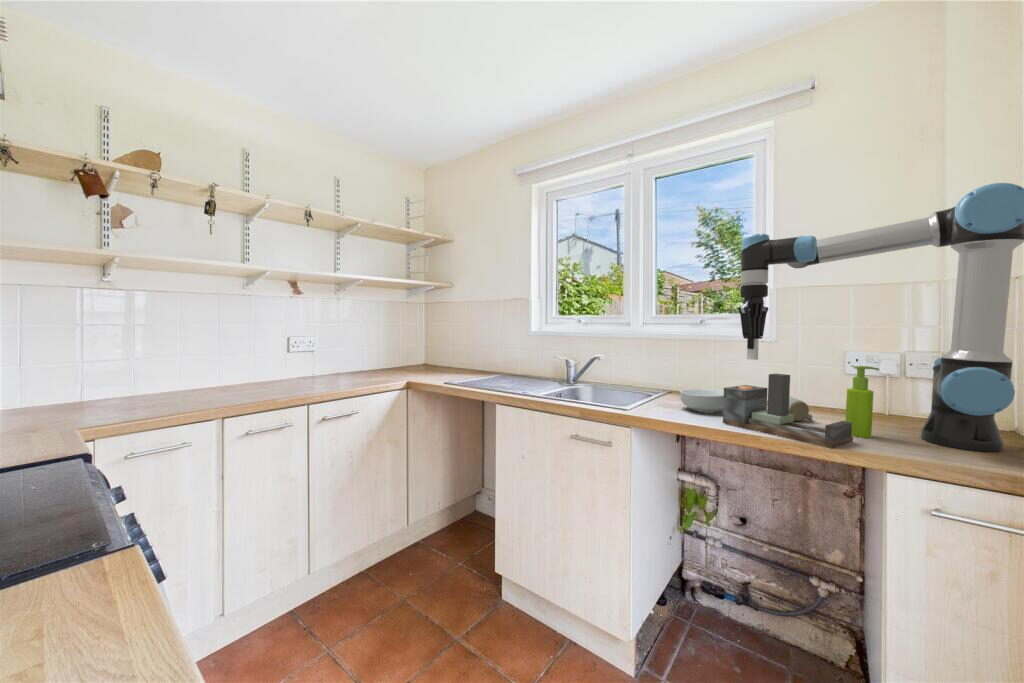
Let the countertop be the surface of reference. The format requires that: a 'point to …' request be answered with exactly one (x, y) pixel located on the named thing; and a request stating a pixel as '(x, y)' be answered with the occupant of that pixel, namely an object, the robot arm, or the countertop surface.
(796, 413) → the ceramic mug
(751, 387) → the button
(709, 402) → the cereal bowl
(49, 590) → the countertop surface
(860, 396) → the soap dispenser
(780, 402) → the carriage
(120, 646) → the countertop surface
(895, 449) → the countertop surface
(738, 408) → the rail track
